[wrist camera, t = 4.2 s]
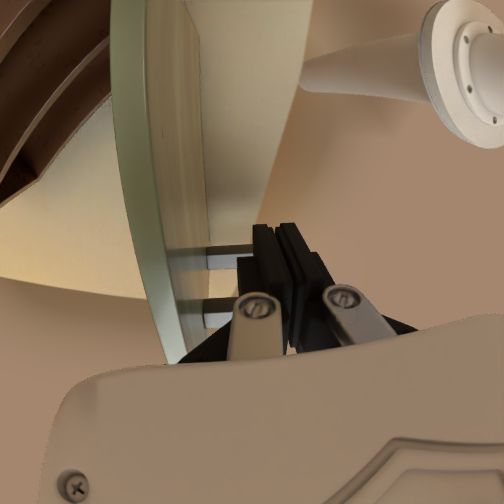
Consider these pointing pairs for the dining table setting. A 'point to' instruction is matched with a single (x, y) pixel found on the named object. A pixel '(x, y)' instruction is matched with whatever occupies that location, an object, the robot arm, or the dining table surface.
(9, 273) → the dining table surface
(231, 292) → the dining table surface
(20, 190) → the cupboard
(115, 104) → the cupboard door
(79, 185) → the dining table surface
